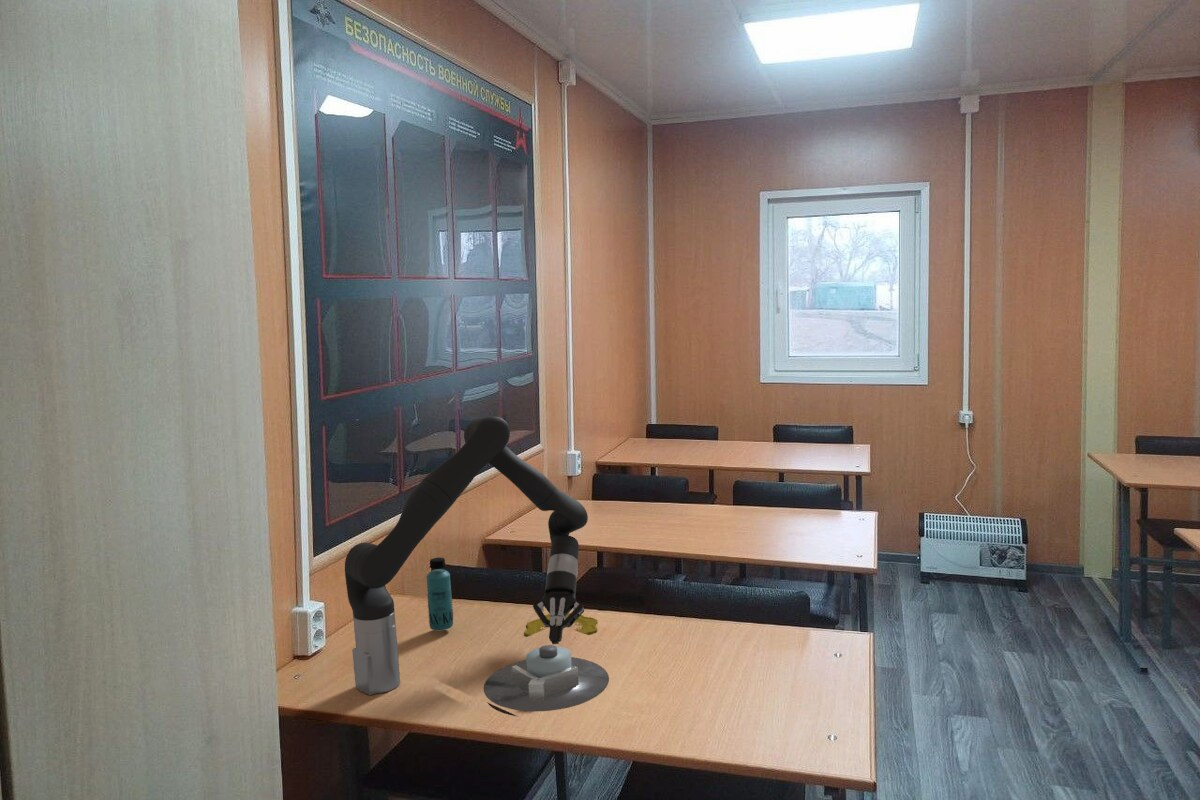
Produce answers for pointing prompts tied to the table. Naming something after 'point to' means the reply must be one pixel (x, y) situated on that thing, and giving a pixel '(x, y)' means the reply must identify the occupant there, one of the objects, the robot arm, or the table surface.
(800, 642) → the table surface
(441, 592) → the beverage bottle
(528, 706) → the turntable
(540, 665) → the cover
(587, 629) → the decorative medallion
